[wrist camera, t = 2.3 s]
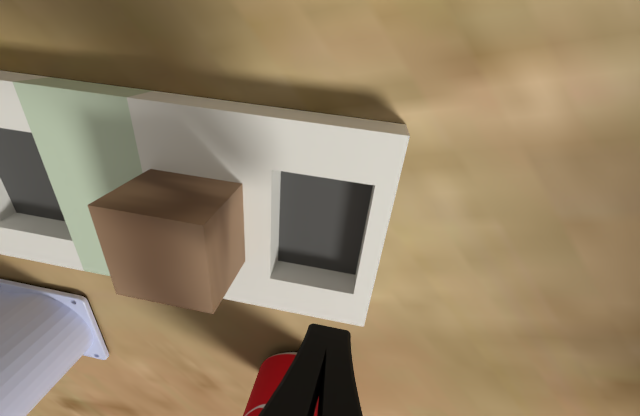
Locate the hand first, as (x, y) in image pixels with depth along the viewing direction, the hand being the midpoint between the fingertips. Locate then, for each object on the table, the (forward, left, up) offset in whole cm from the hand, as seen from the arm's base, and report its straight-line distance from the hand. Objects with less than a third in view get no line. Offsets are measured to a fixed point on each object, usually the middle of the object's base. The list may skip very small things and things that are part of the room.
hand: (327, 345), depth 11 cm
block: (-8, 0, -6) cm, 10 cm away
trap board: (-11, 0, -8) cm, 14 cm away
